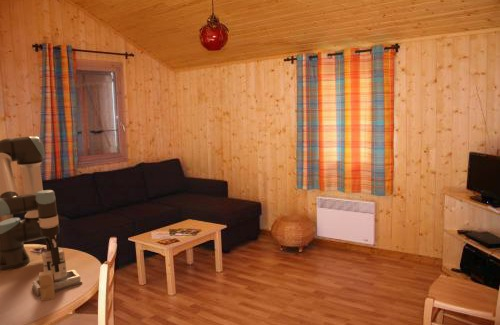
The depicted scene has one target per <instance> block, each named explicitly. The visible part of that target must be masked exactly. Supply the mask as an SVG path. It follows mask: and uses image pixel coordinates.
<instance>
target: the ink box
mask: <svg viewBox="0 0 500 325" xmlns="http://www.w3.org/2000/svg"><path fill="white" fill-rule="evenodd" d="M58 249H59V256H60V262H61V263H60V272H61V277H65V276H67V271H68V270H67V266H66V264H67V263H66V258H65V251H64V248H58ZM41 257H42V264H43V265H42V266H43V272H45V271H51V270H52V273H53V266H51V265H52V264H53V262H52V256H51V251H47V250H46V251H43V252H42V253H41ZM53 280H54V273H53Z"/></svg>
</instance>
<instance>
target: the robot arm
mask: <svg viewBox="0 0 500 325" xmlns="http://www.w3.org/2000/svg"><path fill="white" fill-rule="evenodd" d="M44 148H45V147H44V144H43V142H42V140H41V138H40V137H39V136H35V135H34V136H31V135H30V136H21V137H12V138H3V139H0V217H4V216H10V215H17V214H21V213H26V214H25V215H24V219H21V218H20V217H11V218H8V219H5V220H2V221H0V271H9V270H14V269H19V268H21V267H24V266H26V265H28V264H29V263H30V262H31V259H30V255H29V253H28V251H27V249H26V248H25V246H24V243H26V242H33V241H37V240H40V239H41V240H43V239H44V241H45V245H46V252H47V251H51V256H52V262H53V264H52V265H51V266H53V273H54V279H59V278H61V272H60V263H61V262H60V256H59V249H60V248H59V241H58V239H57V238H56V236H57V235H59V234H60V225H59V223H60V222H59V214H58V211H57V210H58V208H57V201H56V199H57V198H56V195H55V194H56V193H55V191H54V190H52V189H45V190H44V188H43V180H42V172H41V164H42V163H43V159H45V158H46V152H45V149H44ZM12 162H16V165H17V166H18V167H20V169H21V177H22V183H23V184H22V185H23V191H24V194H22V195H19V193H18V188H17V185H16V184H17V183H16V180H15V177H14V173H13V169H12Z"/></svg>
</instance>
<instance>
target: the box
mask: <svg viewBox="0 0 500 325" xmlns="http://www.w3.org/2000/svg"><path fill="white" fill-rule="evenodd" d="M38 279H39V284H40V293H41V296H40V299H41V300H40V301H41V302H44V301H49V300H54V299H55V298H56V294H55V293H56V292H54V283H53V273H52V270H51V271H45V272H44V271H42V272H41V271H40V272H38Z"/></svg>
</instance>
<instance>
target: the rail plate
mask: <svg viewBox="0 0 500 325" xmlns="http://www.w3.org/2000/svg"><path fill="white" fill-rule="evenodd" d="M66 271H67V276H65V277H61V278H59V279H54V280H53V283H54V292H55V293H56V292H59V291H62V290H66V289H69V288H73V287H77V286H80V285H82V284H83V281H82V280H81V276H80V274H79V273H78V272H77V271H76V270H75V269H71V270H66ZM31 287H32V289H33V291H34V292H35V295H36V296H37V297H38V298H41V293H40V284H39V278H38V279H34V280H32V286H31Z"/></svg>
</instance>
